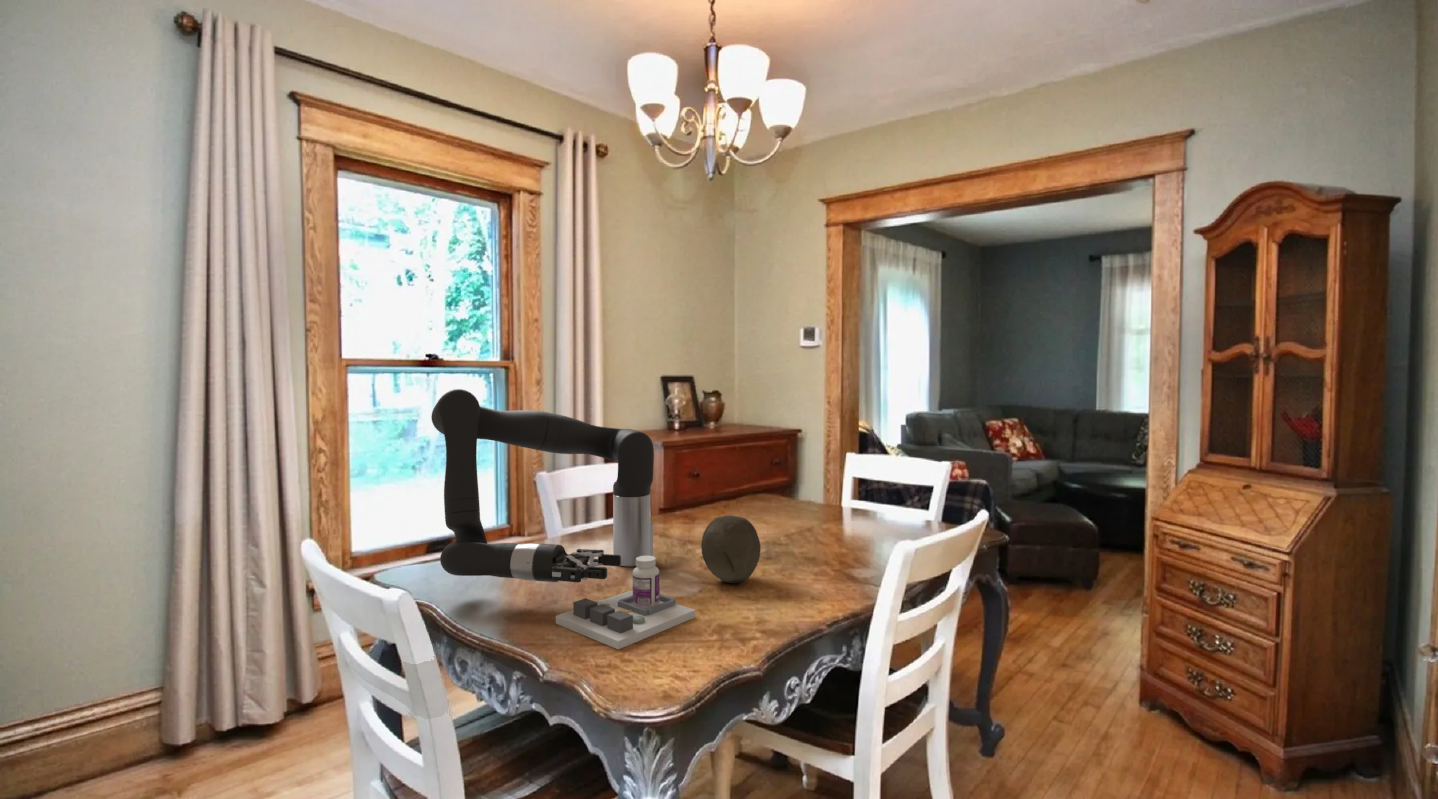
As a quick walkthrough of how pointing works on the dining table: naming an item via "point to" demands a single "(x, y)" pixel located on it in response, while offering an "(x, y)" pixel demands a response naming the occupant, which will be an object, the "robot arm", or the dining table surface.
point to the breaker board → (629, 635)
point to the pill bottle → (646, 582)
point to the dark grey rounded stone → (731, 548)
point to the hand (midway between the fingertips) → (613, 566)
